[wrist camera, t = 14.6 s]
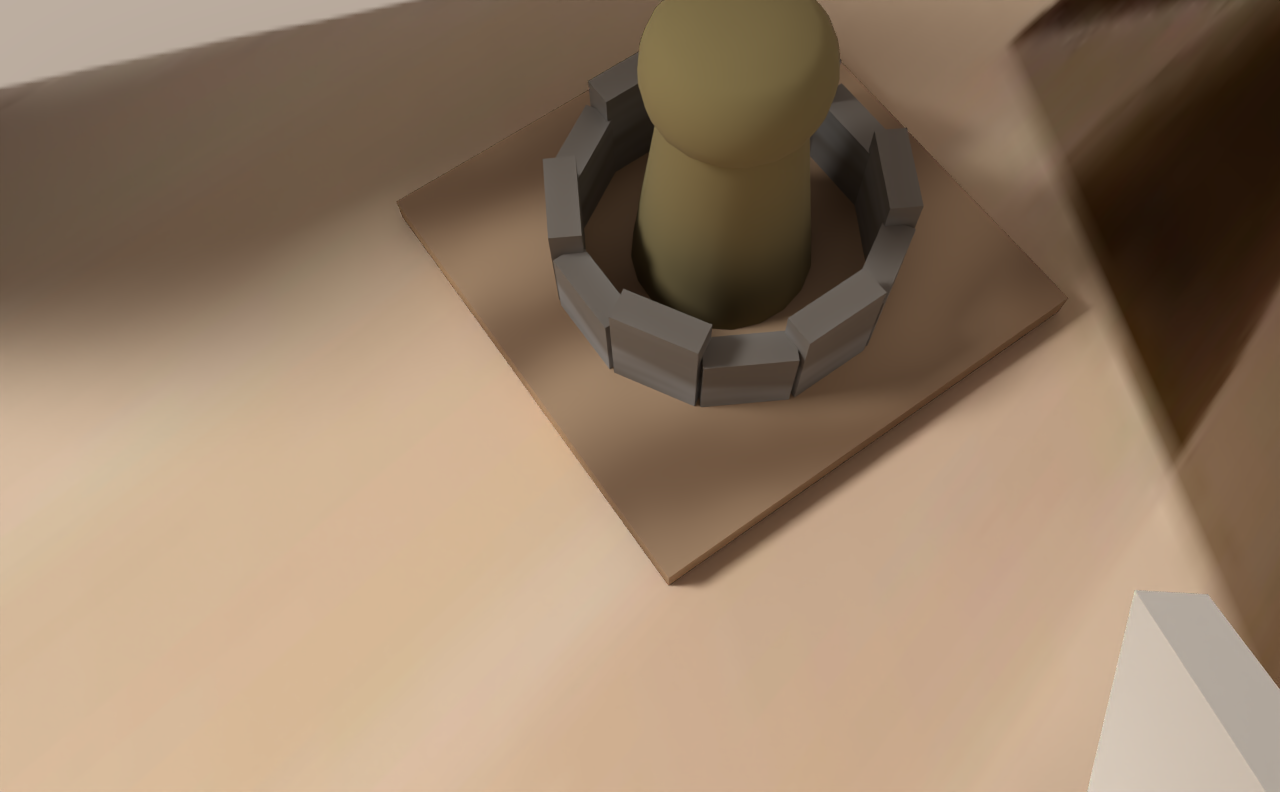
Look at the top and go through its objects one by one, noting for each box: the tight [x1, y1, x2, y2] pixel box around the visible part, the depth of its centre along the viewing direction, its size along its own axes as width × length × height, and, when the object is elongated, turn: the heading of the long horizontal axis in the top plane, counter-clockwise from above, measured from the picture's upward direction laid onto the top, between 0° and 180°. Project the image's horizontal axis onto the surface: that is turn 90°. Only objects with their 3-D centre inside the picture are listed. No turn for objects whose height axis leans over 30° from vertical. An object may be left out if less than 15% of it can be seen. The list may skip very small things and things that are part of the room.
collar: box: [397, 52, 1068, 585], centre depth 36 cm, size 16×16×5 cm
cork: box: [631, 0, 840, 330], centre depth 32 cm, size 6×6×11 cm
